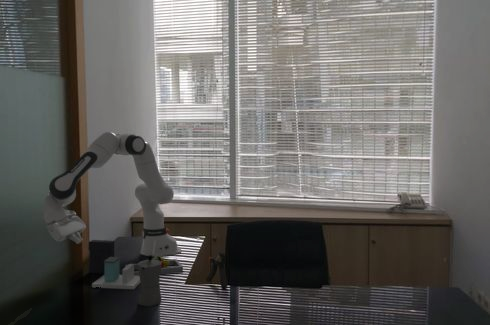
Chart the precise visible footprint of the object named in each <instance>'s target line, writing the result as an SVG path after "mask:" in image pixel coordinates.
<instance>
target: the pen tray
mask: <svg viewBox="0 0 490 325" xmlns="http://www.w3.org/2000/svg"><path fill="white" fill-rule="evenodd" d="M167 260H168V261H169V265H168V266H166V268H161V271H160V275H166V274H168V275H169V274H172V273H173V274H175V273H181V272H182V273H183V272H184V267H183V264H182V263H180V261H179V260H178V259H177V258H175V259H167ZM133 264H134V276H139V270H138V263H133ZM127 265H128V264H125V266H124V268H125V267H126V266H127ZM169 266H170V267H169ZM135 270H136V271H135Z"/></svg>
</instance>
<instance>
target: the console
mask: <svg viewBox="0 0 490 325" xmlns="http://www.w3.org/2000/svg"><path fill="white" fill-rule="evenodd" d="M134 264H135V263H129V264H126V265H127V266H126V267H125V266H124V267H123V269H122V271H121V272H122V274H119V278H117V279H116V280H115V281H114V282H109V281H104V275H105V274H103V275H102V276H100V277H99V278H98V279H97V280H95V281H94V282H92V283H91V288H96V287H99V288H98V289H119V290H135V289H136V287H138V285H140V284H141V281H140V276H134V271H135V270H134ZM100 287H101V288H100Z"/></svg>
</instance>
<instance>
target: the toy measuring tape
mask: <svg viewBox="0 0 490 325" xmlns="http://www.w3.org/2000/svg"><path fill="white" fill-rule="evenodd" d="M156 257H158V256H156ZM156 257H154V256H153V257H152V260H154V258H156ZM159 257H160V258H161V261H162V264H161V268H167V267H169V266H168V265H169V261H168V260H169V259H164V258H163V256H159Z"/></svg>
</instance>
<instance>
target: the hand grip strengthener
mask: <svg viewBox="0 0 490 325" xmlns="http://www.w3.org/2000/svg"><path fill="white" fill-rule="evenodd" d="M207 259H208V261H209V262H211V263H212V265H211V270H210V273H209V274H208V276H207V277H206V282H207V283H208V282H209V283H210V282H211V281H213V279H214V277H215V276H216V274H217V270H218V273H219V280H220V288H221V290H226V289H228V278H227V272H226V267H225V264H226V262H227V261H226V260H227V259H226V254H225V253H223V252H219V253H218V256H217V257H216V259H215V258H213V257H211V256H209V257H208V258H207ZM220 259H221V260H220ZM219 260H220V261H219Z"/></svg>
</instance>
